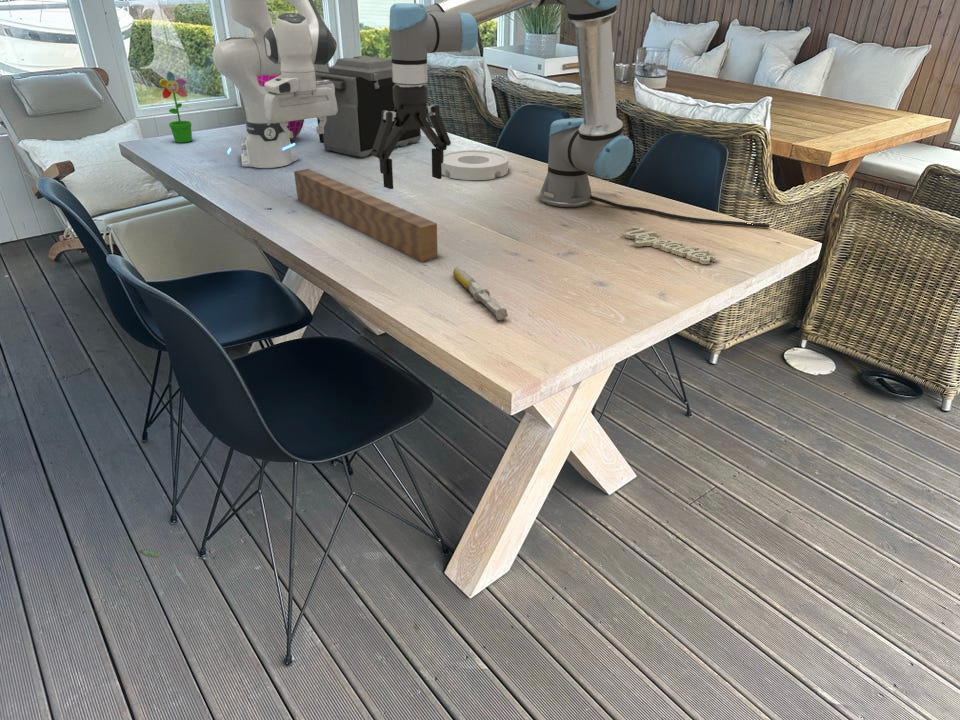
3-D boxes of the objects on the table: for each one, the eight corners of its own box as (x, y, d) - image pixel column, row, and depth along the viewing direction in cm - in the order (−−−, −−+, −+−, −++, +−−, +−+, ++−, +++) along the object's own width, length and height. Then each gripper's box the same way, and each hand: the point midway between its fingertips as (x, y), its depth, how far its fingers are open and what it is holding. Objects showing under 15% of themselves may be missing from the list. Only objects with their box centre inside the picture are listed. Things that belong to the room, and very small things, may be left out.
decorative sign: (611, 234, 176) (635, 225, 181) (610, 237, 176) (634, 229, 182) (700, 264, 159) (723, 254, 164) (699, 268, 159) (723, 257, 165)
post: (437, 257, 164) (436, 223, 159) (422, 262, 161) (421, 227, 157) (311, 197, 203) (308, 168, 199) (297, 200, 201) (294, 171, 196)
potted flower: (172, 144, 257) (157, 72, 244) (170, 139, 263) (155, 69, 250) (199, 141, 260) (185, 71, 248) (196, 137, 266) (182, 68, 254)
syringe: (449, 274, 155) (449, 263, 153) (465, 272, 156) (464, 260, 154) (490, 323, 135) (491, 310, 133) (508, 319, 136) (508, 307, 134)
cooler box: (383, 133, 276) (378, 52, 261) (425, 141, 265) (422, 56, 250) (314, 150, 251) (304, 61, 235) (358, 160, 240) (350, 67, 224)
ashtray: (441, 160, 240) (441, 149, 238) (507, 162, 240) (508, 150, 237) (436, 179, 220) (435, 167, 218) (508, 180, 220) (508, 168, 218)
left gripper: (327, 77, 190) (332, 128, 197) (258, 84, 178) (266, 138, 185) (339, 80, 186) (344, 132, 193) (269, 87, 174) (276, 143, 181)
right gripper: (445, 77, 157) (446, 170, 167) (350, 87, 143) (357, 188, 153) (466, 81, 152) (465, 177, 162) (369, 92, 138) (376, 196, 148)
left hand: (305, 135), depth 189 cm, fingers open, 8 cm apart
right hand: (413, 182), depth 158 cm, fingers open, 13 cm apart
